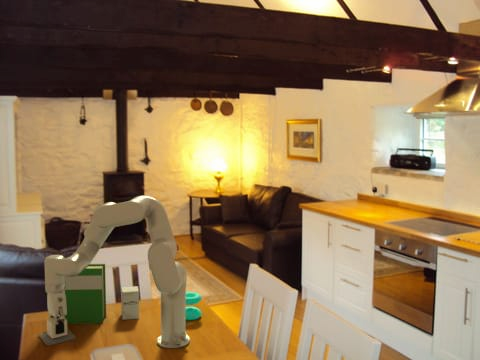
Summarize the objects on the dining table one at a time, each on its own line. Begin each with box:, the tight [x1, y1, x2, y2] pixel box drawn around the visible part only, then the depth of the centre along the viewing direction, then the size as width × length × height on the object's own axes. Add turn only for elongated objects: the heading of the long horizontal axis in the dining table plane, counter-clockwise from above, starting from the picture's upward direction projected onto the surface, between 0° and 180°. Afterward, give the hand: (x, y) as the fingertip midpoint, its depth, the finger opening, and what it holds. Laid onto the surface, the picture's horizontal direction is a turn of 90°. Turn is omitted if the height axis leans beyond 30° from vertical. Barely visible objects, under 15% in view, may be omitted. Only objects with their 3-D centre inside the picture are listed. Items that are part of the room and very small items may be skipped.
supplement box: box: [120, 285, 140, 321], centre depth 221 cm, size 7×7×13 cm
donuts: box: [185, 291, 202, 321], centre depth 222 cm, size 10×10×10 cm
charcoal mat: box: [38, 328, 77, 347], centre depth 199 cm, size 11×11×1 cm
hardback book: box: [64, 263, 107, 325], centre depth 216 cm, size 18×7×24 cm, turn 94°
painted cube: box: [46, 317, 68, 338], centre depth 199 cm, size 6×6×6 cm
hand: (57, 330), depth 199 cm, fingers open, 6 cm apart
